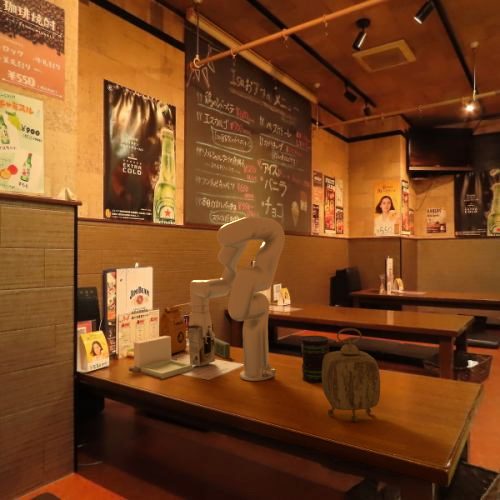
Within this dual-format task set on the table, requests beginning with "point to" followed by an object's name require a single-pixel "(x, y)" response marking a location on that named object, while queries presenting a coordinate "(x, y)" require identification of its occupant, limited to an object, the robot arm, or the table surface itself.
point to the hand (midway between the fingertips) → (202, 351)
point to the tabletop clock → (350, 378)
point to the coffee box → (199, 347)
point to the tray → (166, 368)
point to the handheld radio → (222, 348)
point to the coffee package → (173, 328)
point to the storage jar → (313, 357)
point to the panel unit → (151, 352)
